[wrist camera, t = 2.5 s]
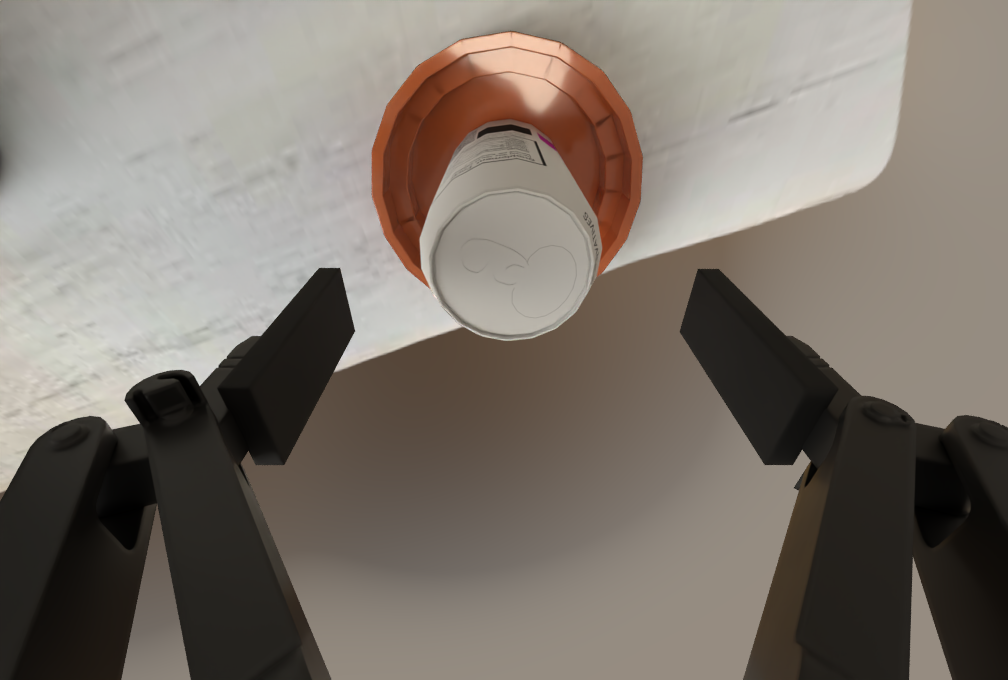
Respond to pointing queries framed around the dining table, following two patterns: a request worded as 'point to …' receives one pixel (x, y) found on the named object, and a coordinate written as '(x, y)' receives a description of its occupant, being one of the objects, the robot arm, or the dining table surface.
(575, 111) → the bowl
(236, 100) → the dining table surface
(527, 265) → the supplement can
